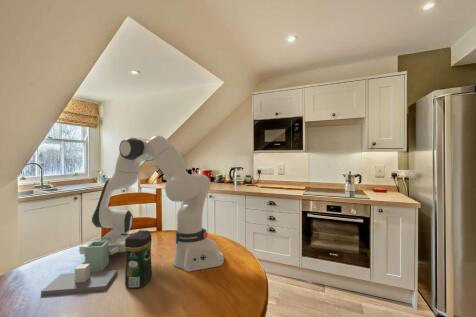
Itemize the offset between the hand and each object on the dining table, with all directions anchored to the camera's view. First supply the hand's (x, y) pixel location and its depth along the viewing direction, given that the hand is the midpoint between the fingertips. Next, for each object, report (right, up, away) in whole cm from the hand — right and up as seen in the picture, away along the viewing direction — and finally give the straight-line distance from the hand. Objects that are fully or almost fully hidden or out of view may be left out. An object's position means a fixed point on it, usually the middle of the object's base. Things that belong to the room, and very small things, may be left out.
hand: (98, 253), depth 94 cm
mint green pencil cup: (0, -5, -1) cm, 5 cm away
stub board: (+2, -6, -13) cm, 14 cm away
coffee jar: (+22, -6, -11) cm, 25 cm away
